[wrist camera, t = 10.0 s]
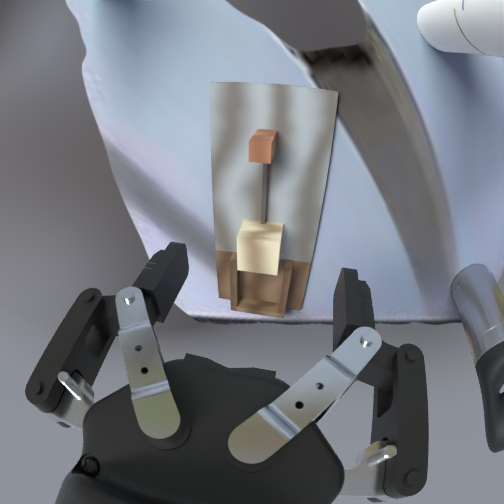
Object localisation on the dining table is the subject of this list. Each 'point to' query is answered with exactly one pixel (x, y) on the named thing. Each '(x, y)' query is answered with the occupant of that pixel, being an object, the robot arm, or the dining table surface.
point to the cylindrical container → (464, 26)
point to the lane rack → (269, 185)
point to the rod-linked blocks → (261, 232)
